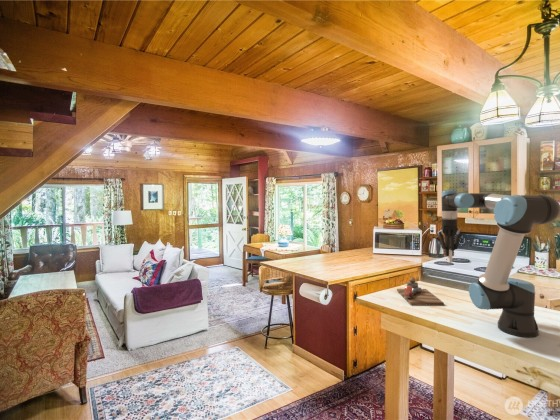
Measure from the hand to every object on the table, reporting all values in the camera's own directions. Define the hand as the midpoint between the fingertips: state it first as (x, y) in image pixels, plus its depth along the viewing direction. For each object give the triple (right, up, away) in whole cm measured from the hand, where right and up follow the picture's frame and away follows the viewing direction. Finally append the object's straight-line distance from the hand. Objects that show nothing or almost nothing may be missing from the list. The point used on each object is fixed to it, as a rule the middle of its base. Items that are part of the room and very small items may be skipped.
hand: (449, 262), depth 180 cm
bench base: (-10, -24, +17) cm, 31 cm away
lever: (-13, -22, +17) cm, 31 cm away
